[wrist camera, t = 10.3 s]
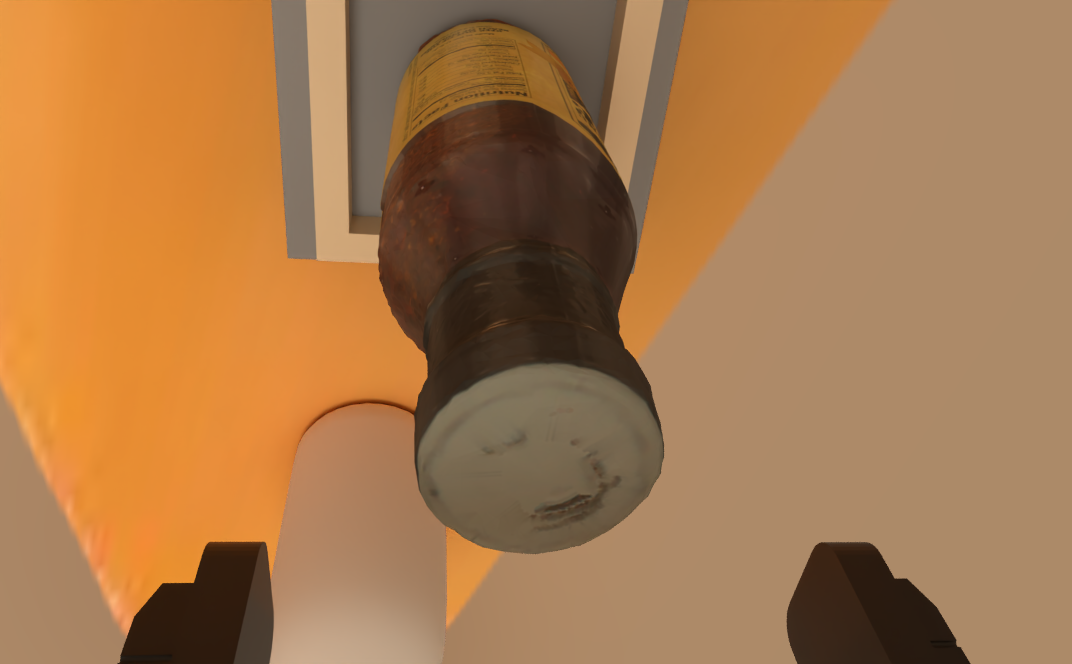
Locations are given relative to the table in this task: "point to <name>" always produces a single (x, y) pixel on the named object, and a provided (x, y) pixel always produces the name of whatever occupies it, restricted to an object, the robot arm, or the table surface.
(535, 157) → the sauce bottle
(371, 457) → the milk bottle
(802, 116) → the table surface
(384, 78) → the tray
